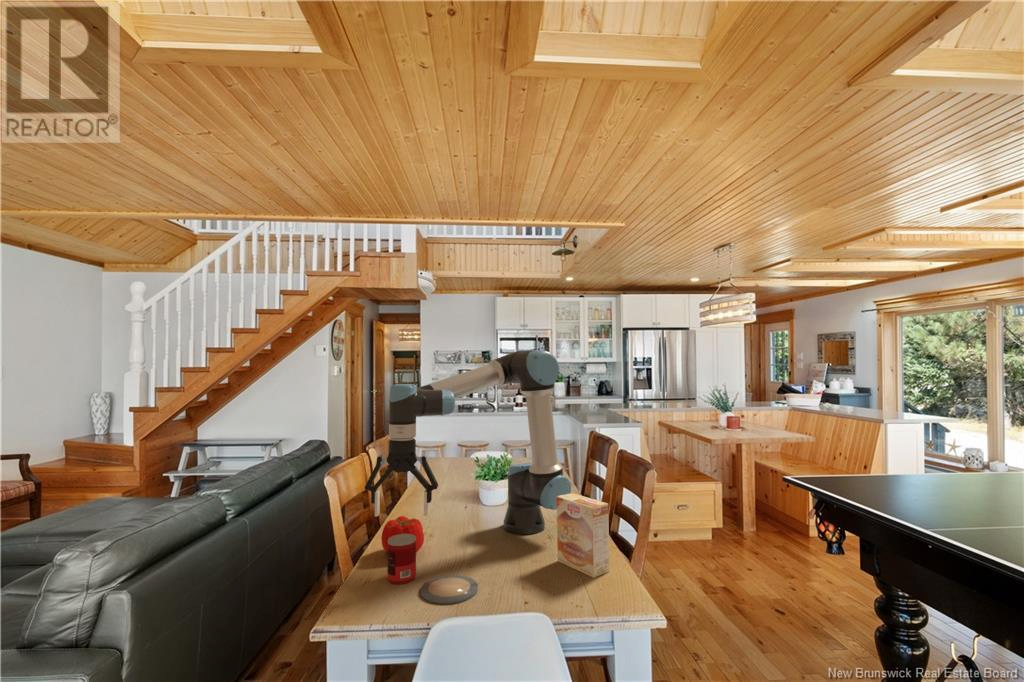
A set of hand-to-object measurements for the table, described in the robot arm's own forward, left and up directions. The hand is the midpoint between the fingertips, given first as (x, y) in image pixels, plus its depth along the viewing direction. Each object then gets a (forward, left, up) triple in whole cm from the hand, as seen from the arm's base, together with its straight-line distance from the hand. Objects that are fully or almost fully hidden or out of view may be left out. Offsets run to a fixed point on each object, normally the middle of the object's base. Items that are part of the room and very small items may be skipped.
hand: (401, 514), depth 136 cm
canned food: (0, 0, -18) cm, 18 cm away
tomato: (+3, -18, -18) cm, 25 cm away
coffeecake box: (-52, -5, -18) cm, 55 cm away
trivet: (-14, +8, -18) cm, 24 cm away
